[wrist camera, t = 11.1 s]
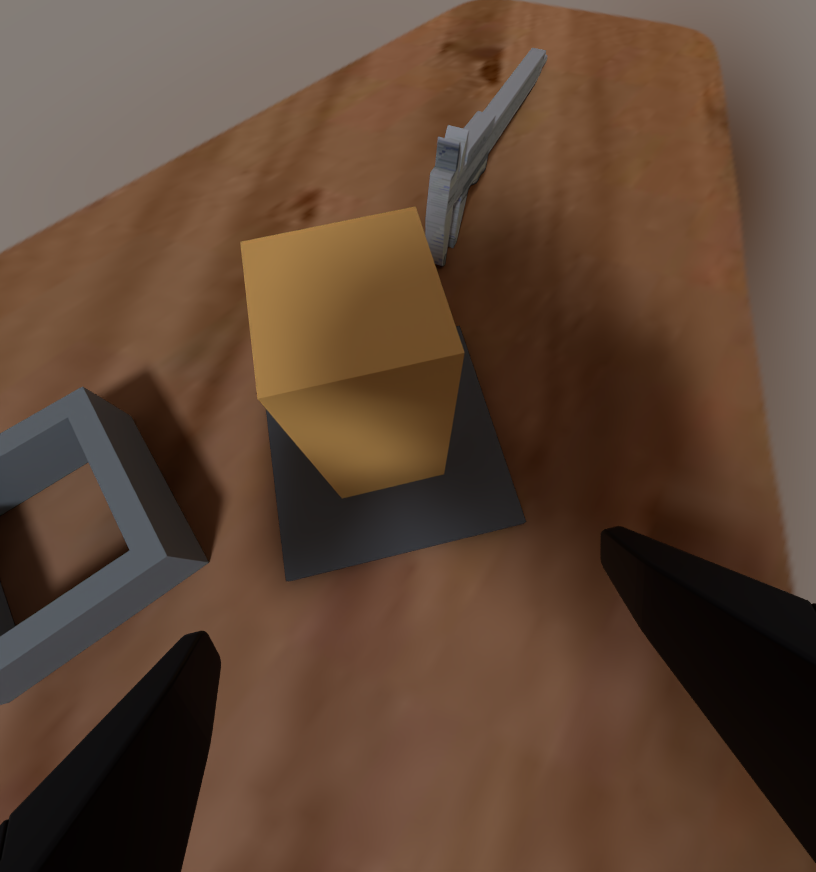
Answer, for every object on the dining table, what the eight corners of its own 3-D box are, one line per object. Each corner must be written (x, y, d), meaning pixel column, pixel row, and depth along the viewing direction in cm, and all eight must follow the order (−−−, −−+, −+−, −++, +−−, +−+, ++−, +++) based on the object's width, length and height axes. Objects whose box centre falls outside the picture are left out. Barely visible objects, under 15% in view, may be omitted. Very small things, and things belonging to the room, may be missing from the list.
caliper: (442, 275, 23) (449, 163, 17) (424, 269, 23) (425, 157, 17) (545, 64, 29) (576, -69, 23) (531, 62, 29) (558, -71, 24)
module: (444, 474, 18) (464, 353, 9) (341, 498, 17) (257, 398, 9) (419, 384, 19) (415, 206, 10) (325, 406, 19) (240, 242, 10)
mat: (523, 523, 17) (526, 521, 17) (289, 581, 17) (285, 580, 16) (458, 331, 21) (459, 325, 20) (264, 374, 20) (261, 369, 20)
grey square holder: (209, 562, 17) (167, 556, 14) (8, 702, 16) (-83, 726, 13) (130, 415, 20) (82, 386, 17) (-47, 522, 18) (-133, 509, 15)
